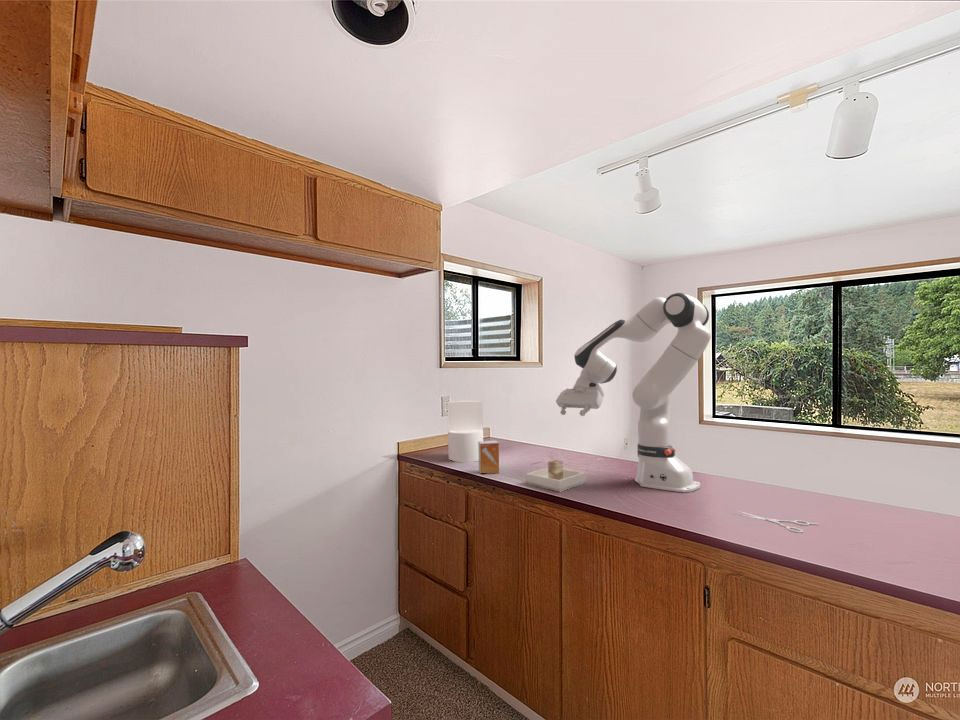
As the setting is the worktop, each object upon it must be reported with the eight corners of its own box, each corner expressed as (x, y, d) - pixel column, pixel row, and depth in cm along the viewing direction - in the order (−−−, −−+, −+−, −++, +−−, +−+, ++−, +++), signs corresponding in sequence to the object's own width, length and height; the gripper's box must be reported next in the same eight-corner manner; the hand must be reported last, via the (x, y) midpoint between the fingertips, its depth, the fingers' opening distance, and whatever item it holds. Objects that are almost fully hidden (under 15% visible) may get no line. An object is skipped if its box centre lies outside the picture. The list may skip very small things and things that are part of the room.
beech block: (563, 481, 168) (562, 461, 168) (556, 483, 165) (556, 463, 165) (555, 479, 171) (554, 459, 171) (548, 481, 168) (547, 461, 168)
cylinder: (448, 455, 224) (446, 400, 224) (481, 454, 226) (480, 399, 226) (449, 463, 207) (447, 403, 207) (485, 461, 209) (484, 402, 209)
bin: (585, 483, 168) (585, 472, 168) (559, 492, 157) (559, 481, 157) (552, 476, 179) (552, 466, 179) (526, 484, 169) (525, 473, 169)
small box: (480, 474, 185) (479, 443, 185) (478, 471, 191) (477, 441, 191) (499, 473, 186) (498, 442, 186) (497, 469, 192) (496, 440, 192)
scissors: (808, 534, 114) (725, 514, 129) (808, 537, 114) (725, 517, 129) (818, 523, 121) (739, 506, 136) (818, 526, 121) (739, 509, 136)
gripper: (560, 384, 194) (548, 408, 187) (602, 384, 179) (590, 410, 172) (567, 393, 197) (554, 417, 190) (608, 394, 182) (596, 420, 175)
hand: (571, 414), depth 181 cm, fingers open, 8 cm apart
